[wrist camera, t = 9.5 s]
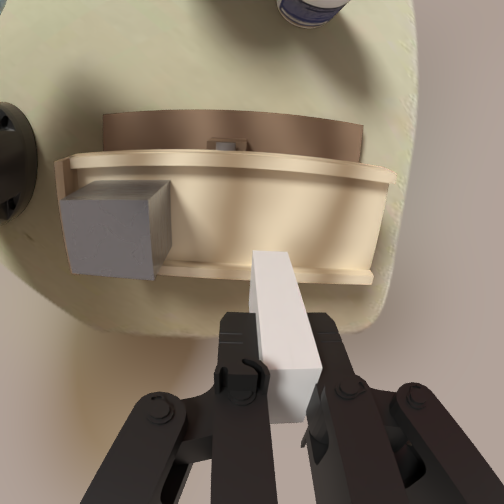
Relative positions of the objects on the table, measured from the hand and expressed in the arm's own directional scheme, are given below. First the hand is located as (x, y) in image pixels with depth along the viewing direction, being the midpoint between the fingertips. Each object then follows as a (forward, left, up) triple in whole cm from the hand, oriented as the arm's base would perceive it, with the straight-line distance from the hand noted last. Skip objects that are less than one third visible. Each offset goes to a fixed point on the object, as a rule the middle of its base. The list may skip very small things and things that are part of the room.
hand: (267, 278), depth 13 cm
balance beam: (-3, 0, -10) cm, 11 cm away
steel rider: (-9, 0, -9) cm, 13 cm away
